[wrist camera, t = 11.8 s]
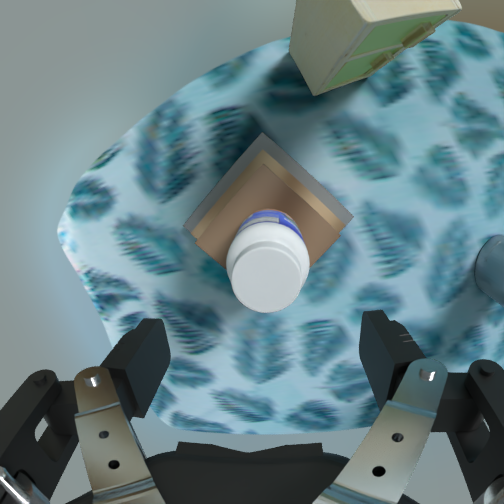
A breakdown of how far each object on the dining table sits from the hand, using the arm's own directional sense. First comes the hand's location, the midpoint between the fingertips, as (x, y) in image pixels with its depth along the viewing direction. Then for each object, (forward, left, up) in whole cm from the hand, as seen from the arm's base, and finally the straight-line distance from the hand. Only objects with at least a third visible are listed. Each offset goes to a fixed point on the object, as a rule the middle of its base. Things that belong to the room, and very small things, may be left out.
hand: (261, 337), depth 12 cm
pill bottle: (0, 0, -15) cm, 15 cm away
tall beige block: (+7, -19, -25) cm, 32 cm away
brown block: (0, 0, -24) cm, 24 cm away
